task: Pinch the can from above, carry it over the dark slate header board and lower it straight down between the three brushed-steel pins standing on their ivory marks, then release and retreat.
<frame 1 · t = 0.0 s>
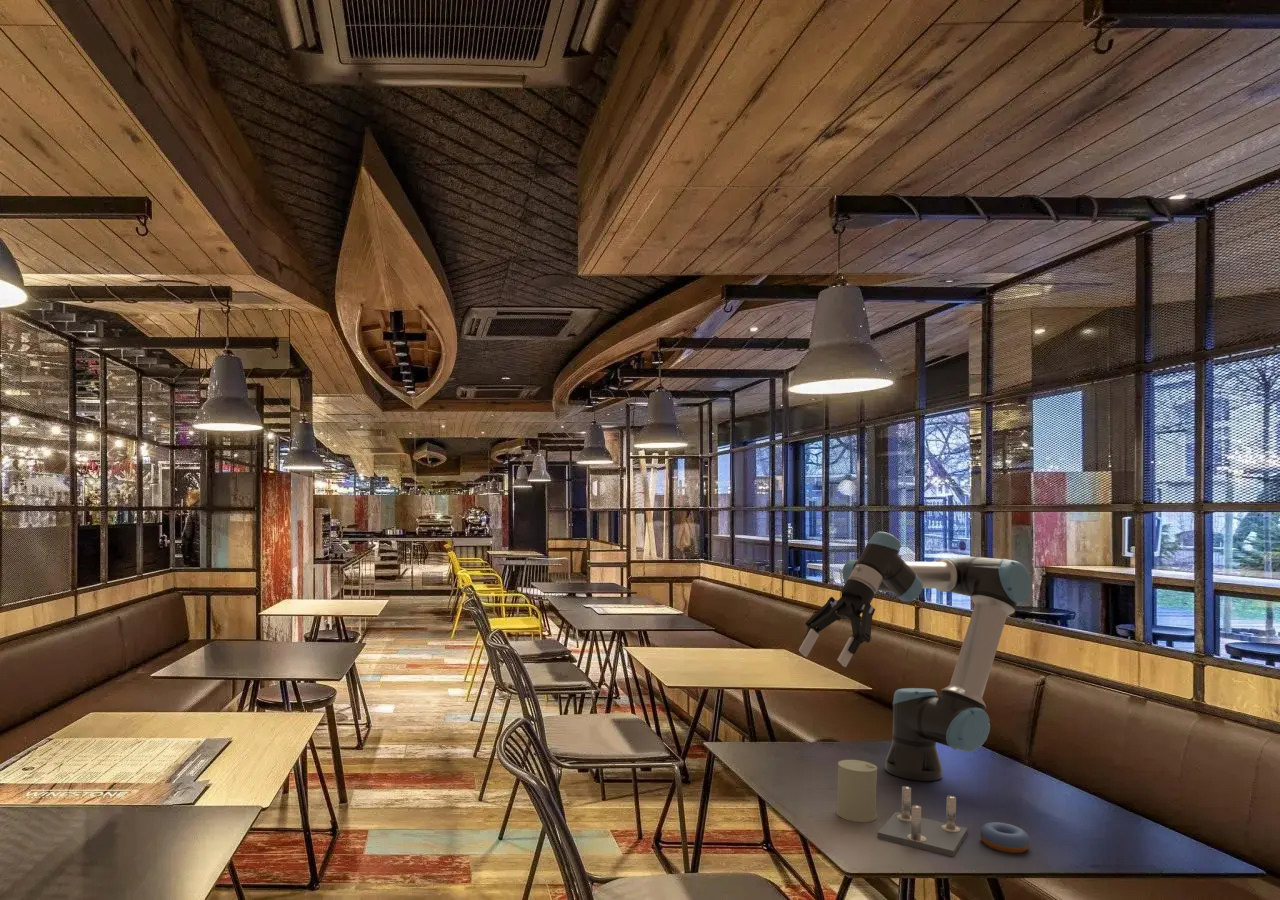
hand: (821, 658, 197), 36 cm above the table, tool tilted 35°, fingers open, 13 cm apart
pins: (922, 815, 183), on the header board, point 5 cm above the table
header board: (922, 835, 183), on the table
doughnut: (1004, 847, 180), on the table
can: (856, 816, 194), on the table
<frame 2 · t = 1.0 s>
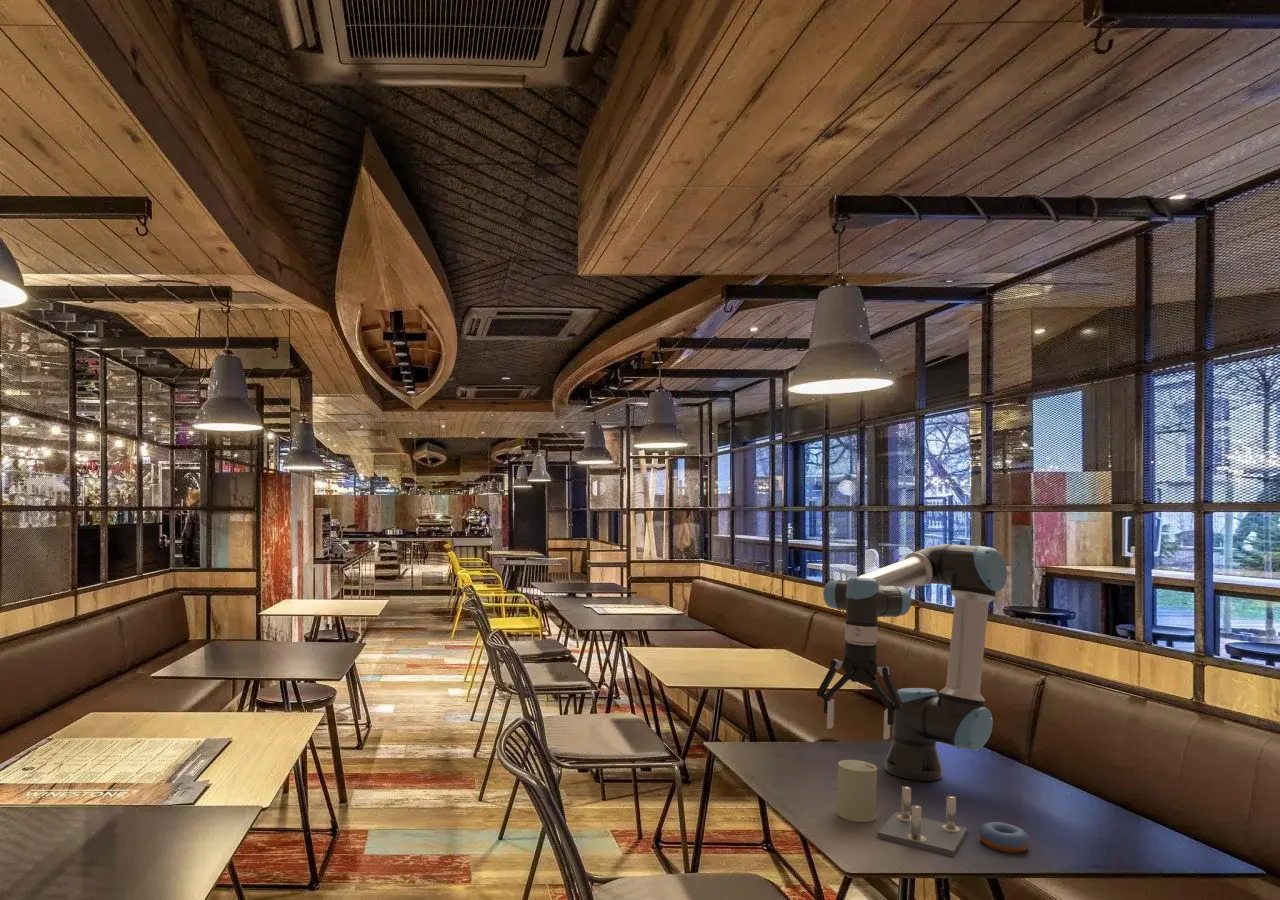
hand: (857, 733, 196), 19 cm above the table, tool pointing down, fingers open, 13 cm apart
nothing on the table moved.
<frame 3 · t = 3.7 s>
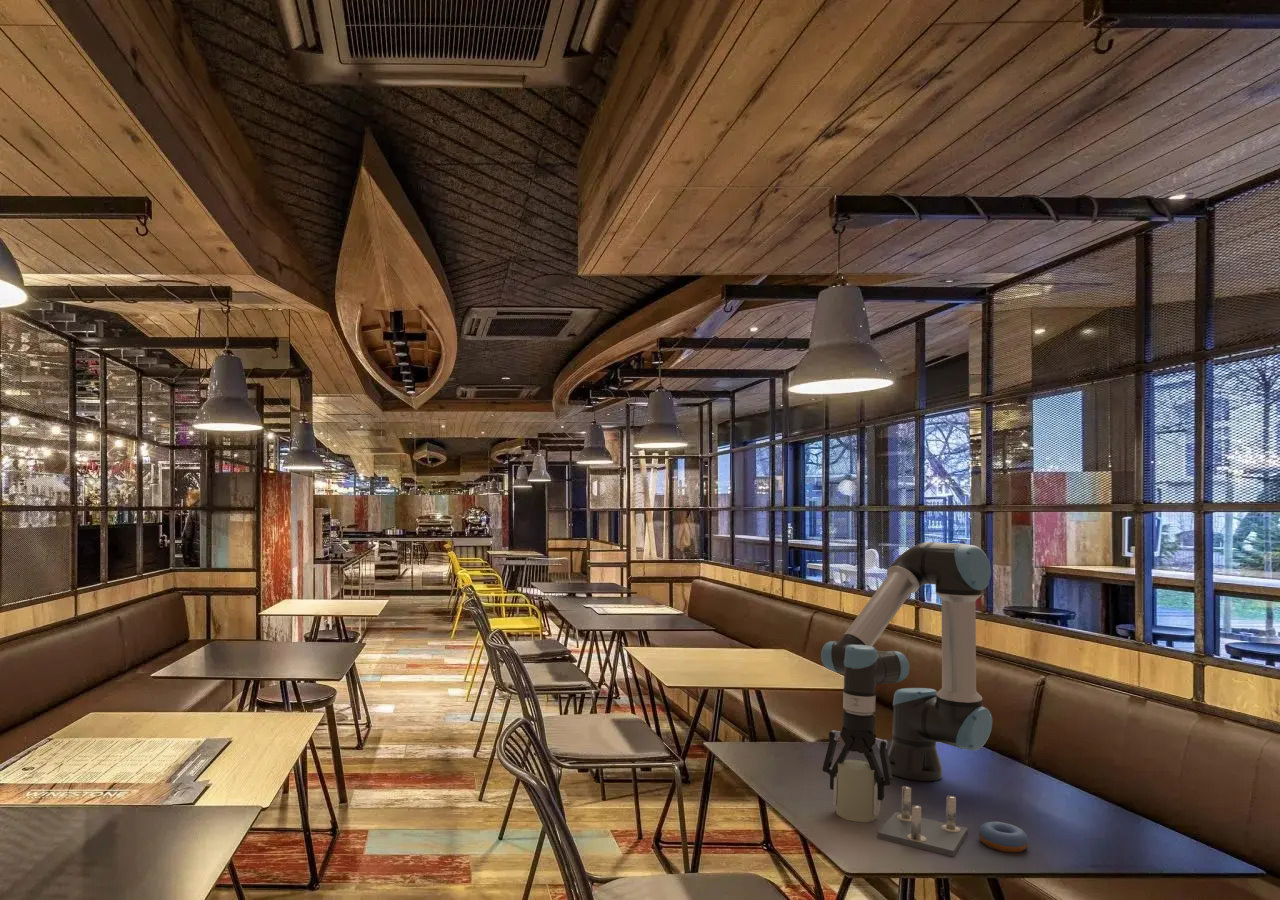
hand: (856, 808, 194), 1 cm above the table, tool pointing down, fingers closed on can, 9 cm apart
can: (856, 815, 194), on the table, touching gripper
everything else where it was.
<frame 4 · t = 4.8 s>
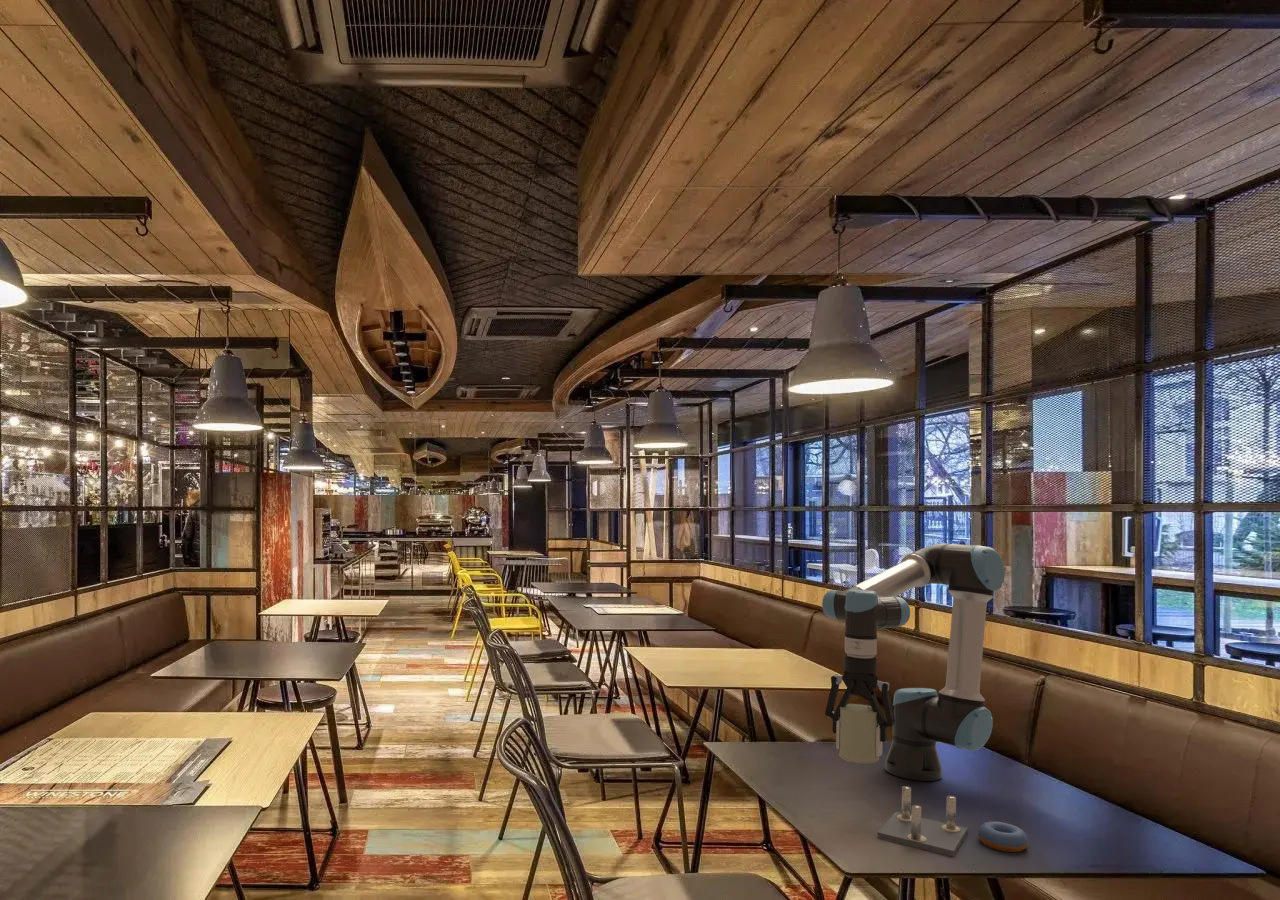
hand: (858, 751, 195), 15 cm above the table, tool pointing down, fingers closed on can, 9 cm apart
can: (858, 758, 195), point 13 cm above the table, touching gripper
everything else where it was.
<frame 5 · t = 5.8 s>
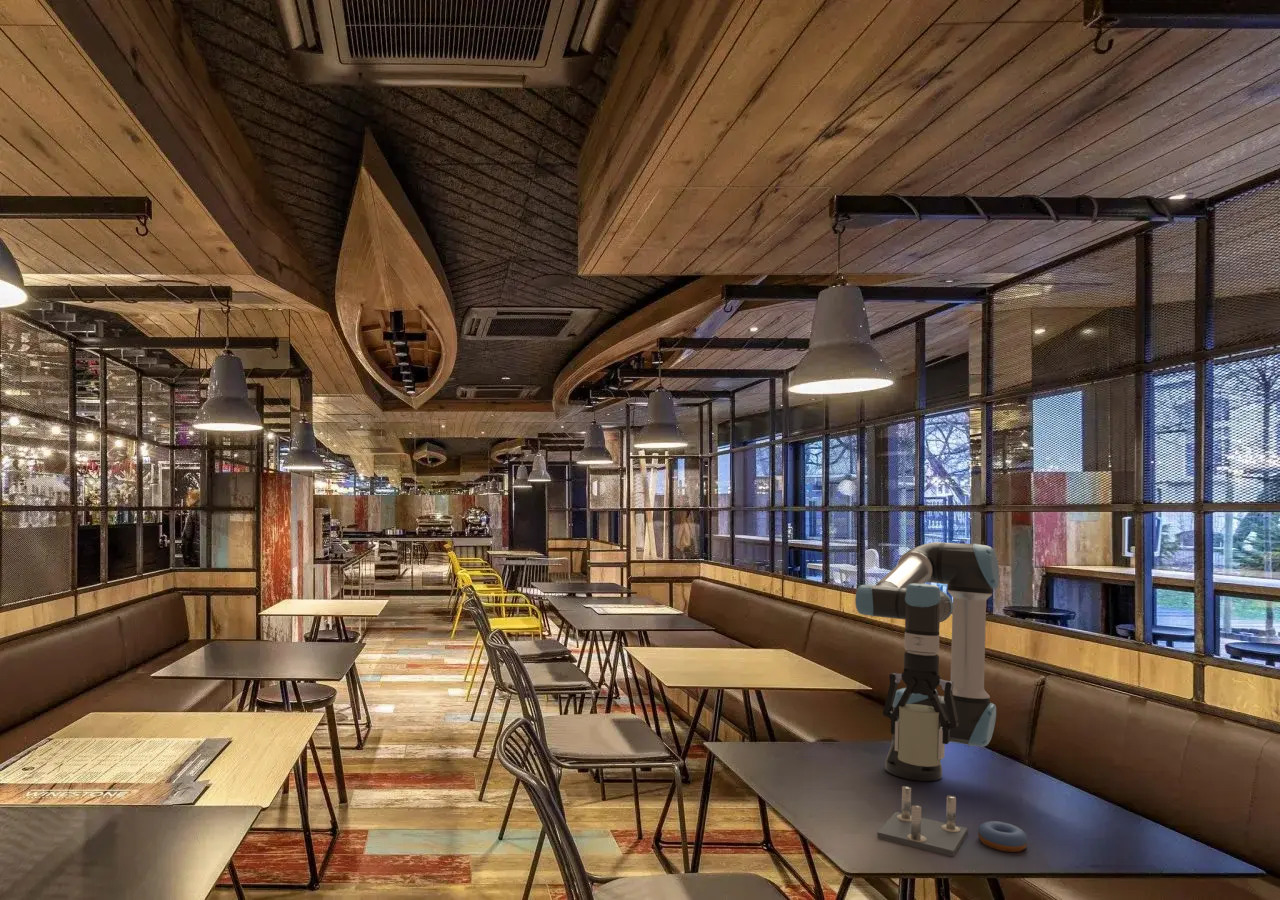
hand: (919, 753, 185), 18 cm above the table, tool pointing down, fingers closed on can, 9 cm apart
can: (918, 761, 185), point 16 cm above the table, touching gripper
everything else where it was.
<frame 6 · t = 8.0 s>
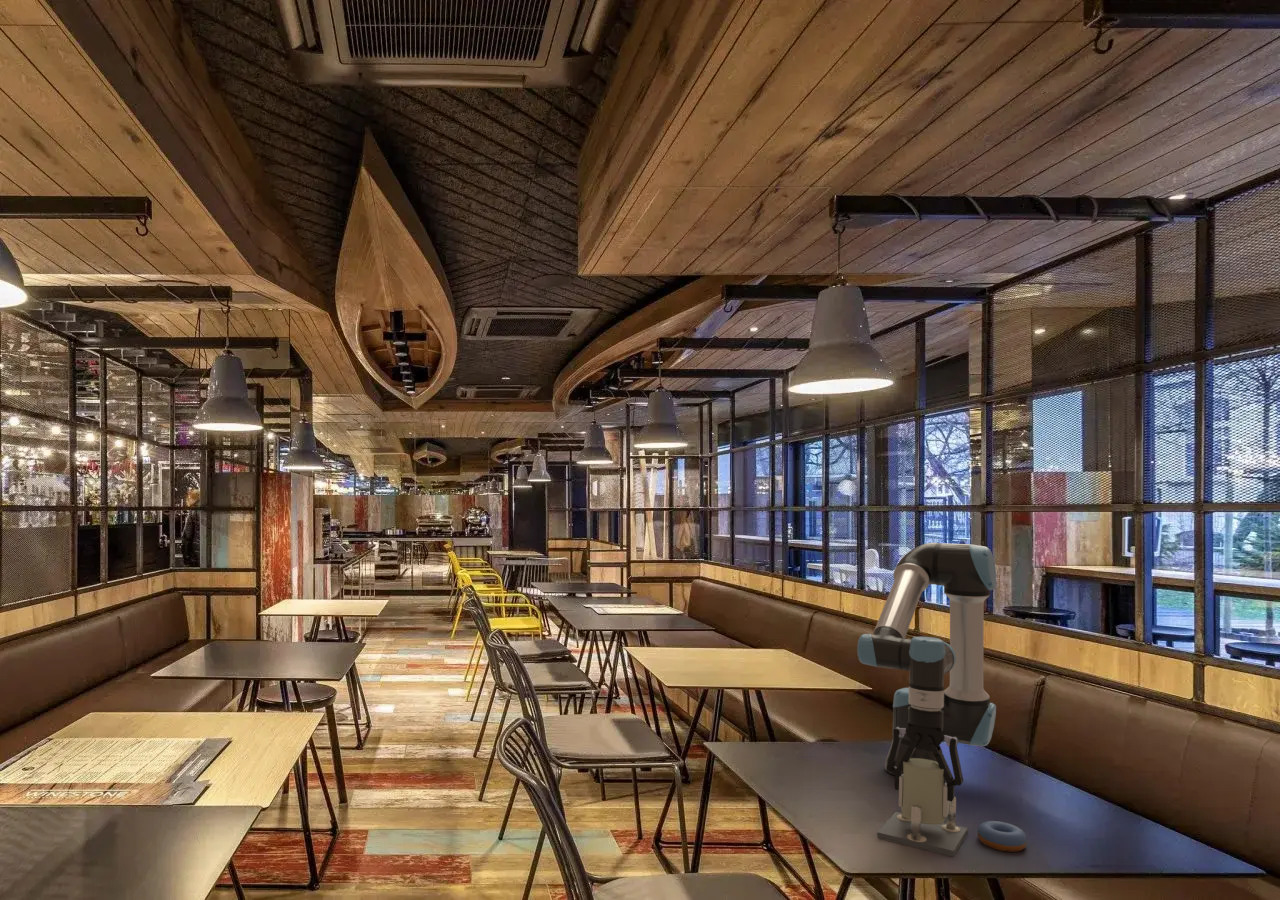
hand: (923, 810, 184), 6 cm above the table, tool pointing down, fingers closed on can, 9 cm apart
can: (923, 817, 183), point 4 cm above the table, touching gripper
everything else where it was.
when the fingers open (4 cm above the table, at t = 9.3 s): can drops 1 cm, resting on header board.
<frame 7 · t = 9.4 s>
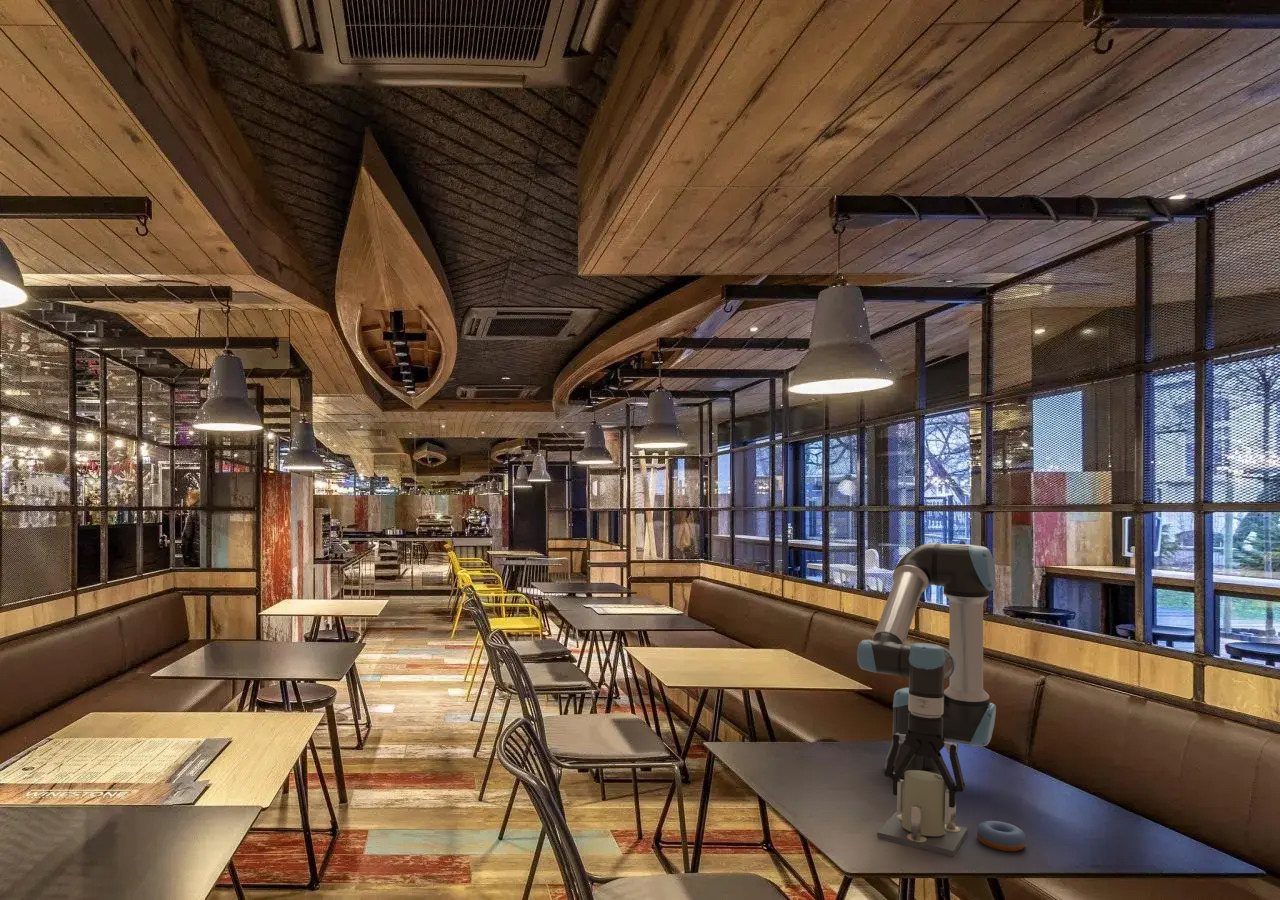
hand: (923, 815, 184), 4 cm above the table, tool pointing down, fingers open, 10 cm apart
can: (923, 830, 183), point 1 cm above the table, touching header board
everything else where it was.
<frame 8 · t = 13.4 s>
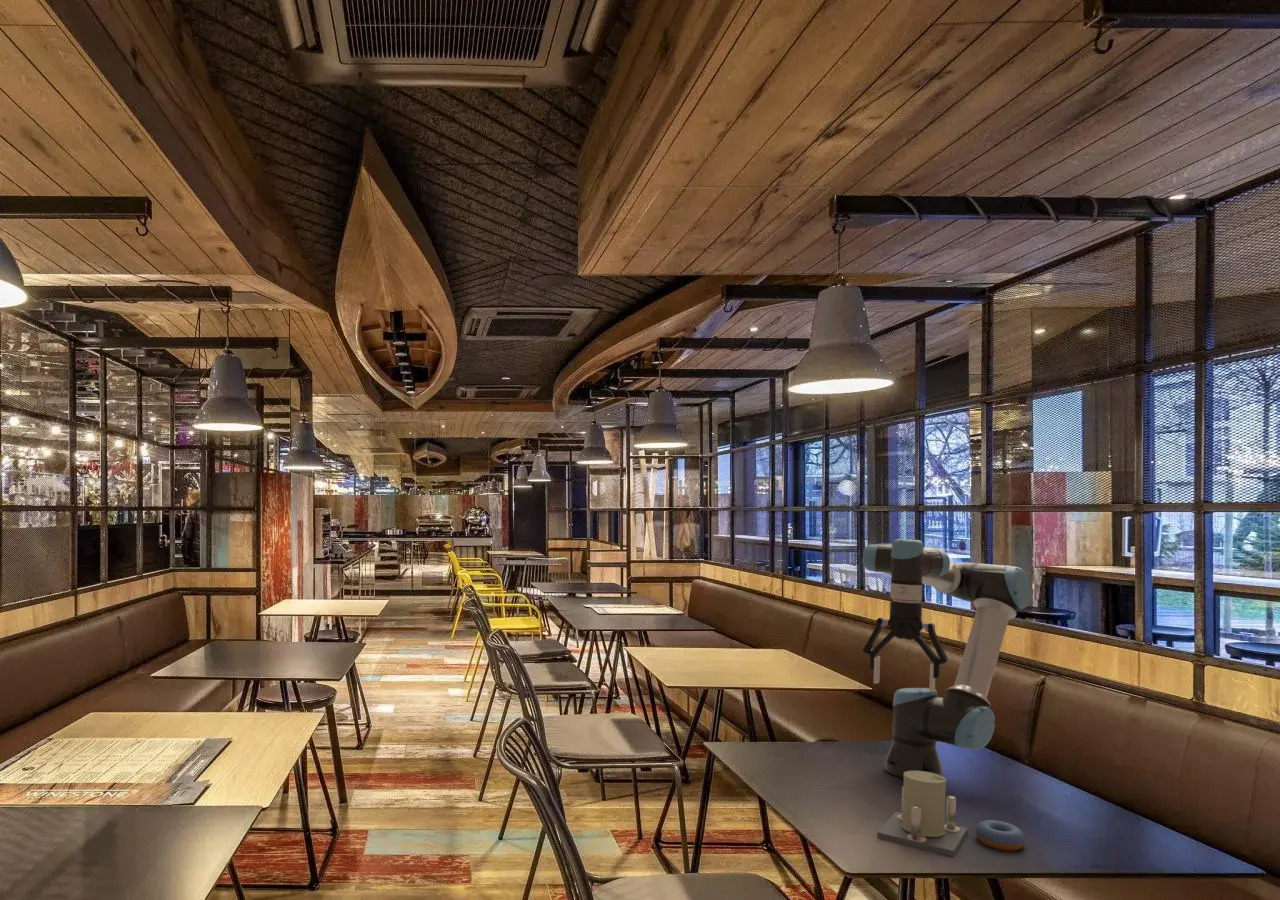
hand: (903, 687, 205), 29 cm above the table, tool pointing down, fingers open, 13 cm apart
at the end: can inside the target area on the header board (0.0 cm from its centre), point 1.1 cm above the header board's base; can tilted 1°; the gripper is holding nothing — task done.
